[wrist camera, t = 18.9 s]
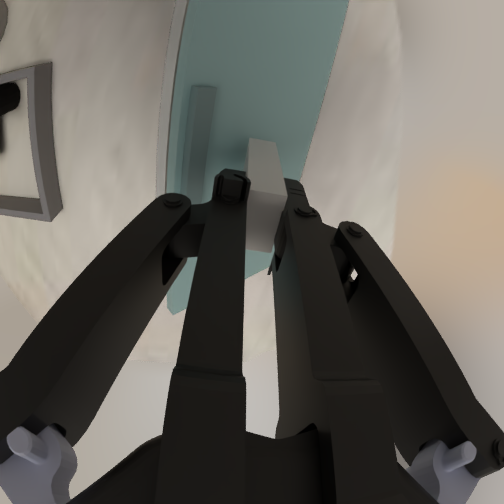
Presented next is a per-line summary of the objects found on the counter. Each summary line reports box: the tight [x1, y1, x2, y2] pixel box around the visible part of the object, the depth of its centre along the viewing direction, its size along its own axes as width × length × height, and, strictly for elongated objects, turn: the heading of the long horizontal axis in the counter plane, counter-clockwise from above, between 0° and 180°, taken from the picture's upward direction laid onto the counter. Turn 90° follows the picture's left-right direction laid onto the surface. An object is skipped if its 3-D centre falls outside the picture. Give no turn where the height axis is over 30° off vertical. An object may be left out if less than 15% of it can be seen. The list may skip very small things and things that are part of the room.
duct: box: [156, 0, 349, 198], centre depth 22 cm, size 24×12×5 cm, turn 169°
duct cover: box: [166, 0, 349, 315], centre depth 16 cm, size 24×11×1 cm
